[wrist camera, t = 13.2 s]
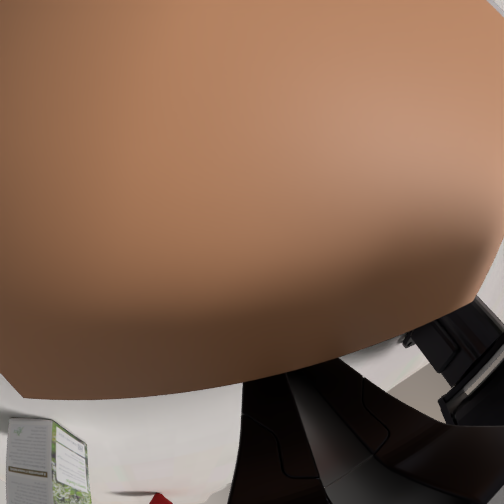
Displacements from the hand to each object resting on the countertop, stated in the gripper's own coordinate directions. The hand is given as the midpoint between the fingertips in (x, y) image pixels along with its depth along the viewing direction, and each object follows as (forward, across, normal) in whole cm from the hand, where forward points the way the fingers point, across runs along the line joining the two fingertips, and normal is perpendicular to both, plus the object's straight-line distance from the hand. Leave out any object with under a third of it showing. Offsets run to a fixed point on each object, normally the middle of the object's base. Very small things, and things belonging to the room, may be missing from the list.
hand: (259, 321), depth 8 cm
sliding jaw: (+2, 0, -6) cm, 6 cm away
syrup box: (+4, +17, +16) cm, 24 cm away
